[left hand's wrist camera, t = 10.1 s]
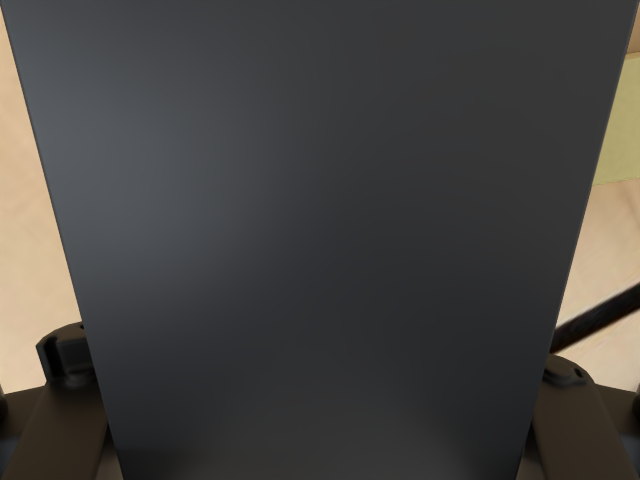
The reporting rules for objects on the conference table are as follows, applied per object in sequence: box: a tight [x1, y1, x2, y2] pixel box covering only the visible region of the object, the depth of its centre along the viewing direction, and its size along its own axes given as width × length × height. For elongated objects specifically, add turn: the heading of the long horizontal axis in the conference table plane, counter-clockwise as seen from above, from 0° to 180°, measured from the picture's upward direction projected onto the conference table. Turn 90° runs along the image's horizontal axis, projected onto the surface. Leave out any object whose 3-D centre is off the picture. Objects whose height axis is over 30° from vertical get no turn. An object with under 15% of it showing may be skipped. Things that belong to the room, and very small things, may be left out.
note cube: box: [592, 52, 640, 186], centre depth 25 cm, size 7×7×4 cm
